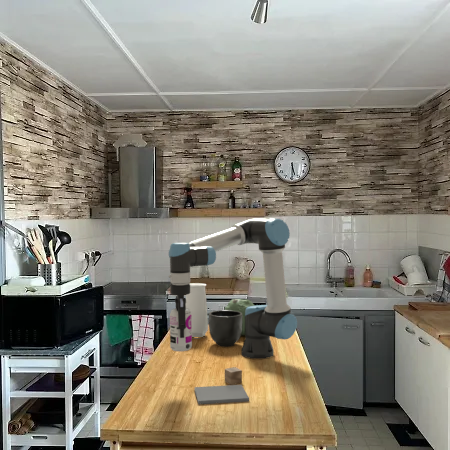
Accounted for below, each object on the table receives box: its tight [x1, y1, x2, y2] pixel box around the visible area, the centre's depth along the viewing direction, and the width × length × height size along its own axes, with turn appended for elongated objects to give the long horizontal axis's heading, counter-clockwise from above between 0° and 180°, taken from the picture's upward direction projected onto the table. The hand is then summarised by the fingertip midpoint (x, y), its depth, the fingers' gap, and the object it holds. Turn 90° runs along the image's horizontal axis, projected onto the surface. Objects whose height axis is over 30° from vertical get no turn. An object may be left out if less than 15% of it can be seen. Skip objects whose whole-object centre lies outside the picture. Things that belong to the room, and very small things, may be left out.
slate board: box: [194, 384, 250, 405], centre depth 182 cm, size 18×14×1 cm
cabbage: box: [224, 298, 255, 336], centre depth 274 cm, size 16×19×20 cm
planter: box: [208, 309, 243, 348], centre depth 253 cm, size 17×17×16 cm
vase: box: [185, 282, 209, 338], centre depth 271 cm, size 13×13×28 cm
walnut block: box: [224, 366, 243, 385], centre depth 197 cm, size 5×5×5 cm
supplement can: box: [169, 307, 193, 352], centre depth 191 cm, size 8×8×15 cm
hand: (181, 342), depth 191 cm, fingers closed on supplement can, 8 cm apart
